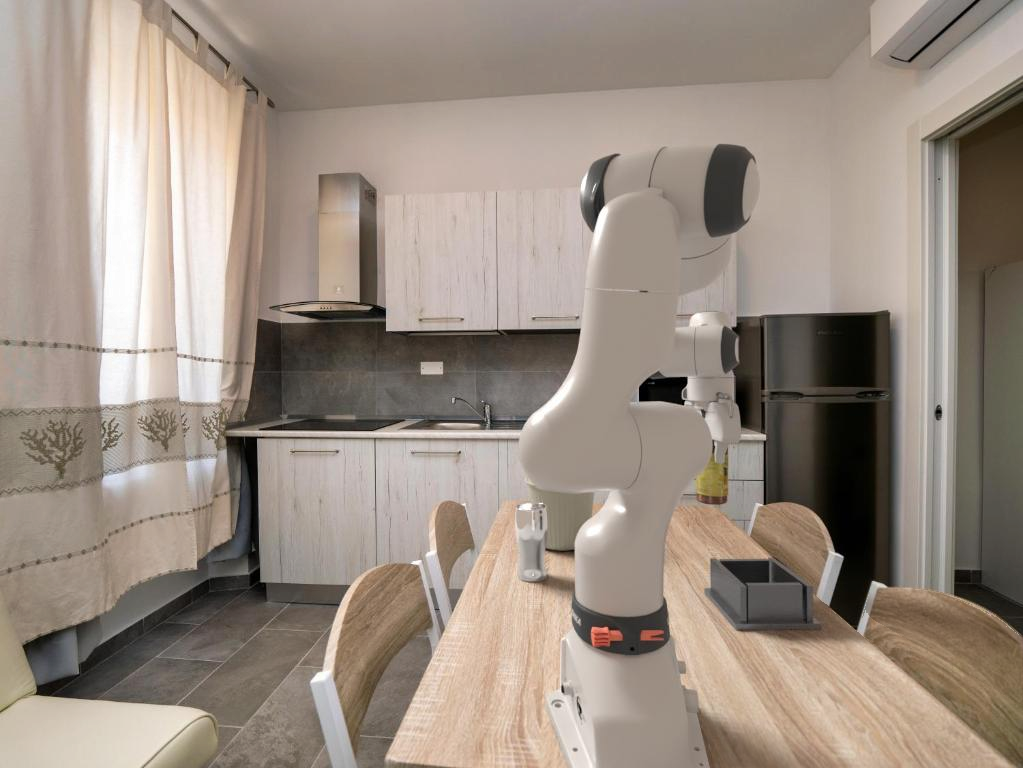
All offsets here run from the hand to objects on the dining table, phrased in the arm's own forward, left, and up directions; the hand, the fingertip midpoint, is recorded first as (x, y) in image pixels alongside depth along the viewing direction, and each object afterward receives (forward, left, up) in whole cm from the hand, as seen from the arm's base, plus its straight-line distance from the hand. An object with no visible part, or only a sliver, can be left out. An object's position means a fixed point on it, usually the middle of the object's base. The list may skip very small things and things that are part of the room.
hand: (711, 459), depth 103 cm
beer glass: (+3, +37, -25) cm, 45 cm away
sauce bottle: (0, 0, -9) cm, 9 cm away
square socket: (-13, -3, -25) cm, 28 cm away
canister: (+23, +29, -25) cm, 45 cm away
